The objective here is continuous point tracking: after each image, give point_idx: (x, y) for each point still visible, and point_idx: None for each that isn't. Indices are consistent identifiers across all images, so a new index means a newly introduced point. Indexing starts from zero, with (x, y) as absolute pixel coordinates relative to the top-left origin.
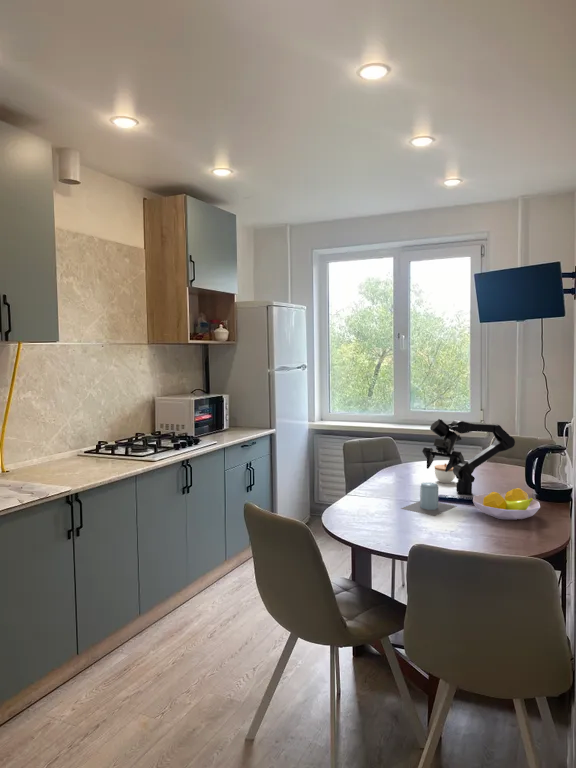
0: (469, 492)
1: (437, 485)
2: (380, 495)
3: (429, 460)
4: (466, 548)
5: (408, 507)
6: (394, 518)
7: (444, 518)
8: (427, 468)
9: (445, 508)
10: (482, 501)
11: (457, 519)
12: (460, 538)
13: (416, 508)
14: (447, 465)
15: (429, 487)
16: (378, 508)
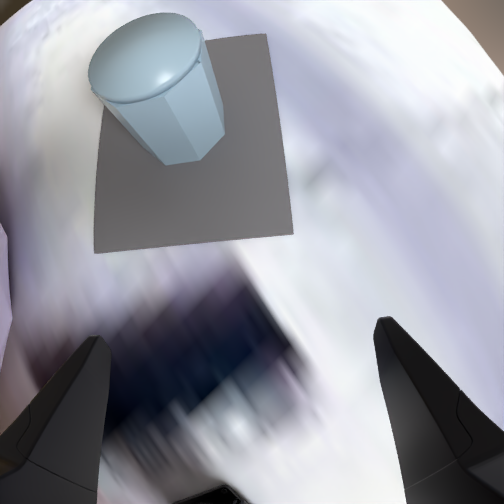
0: None
1: (88, 73)
2: (480, 154)
3: (429, 425)
4: (17, 14)
5: (251, 60)
6: None
7: (82, 82)
8: (378, 327)
9: (114, 171)
10: (6, 320)
11: (47, 110)
12: (27, 29)
13: (215, 72)
14: (58, 390)
15: (124, 30)
16: (332, 6)
